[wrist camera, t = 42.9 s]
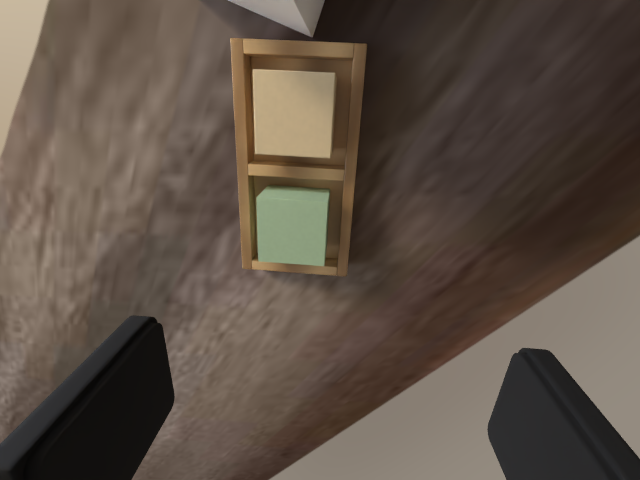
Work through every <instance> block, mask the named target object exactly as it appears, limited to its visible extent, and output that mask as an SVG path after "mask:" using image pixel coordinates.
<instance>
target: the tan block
mask: <svg viewBox="0 0 640 480" xmlns="http://www.w3.org/2000/svg"><path fill="white" fill-rule="evenodd" d="M336 86H337V77H336V74H335V73H327V72H305V71H283V70H262V69H253V97H254V130H255V154H262V155H279V156H296V157H314V158H331V155H332V151H333V137H334V120H335V103H336Z"/></svg>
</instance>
